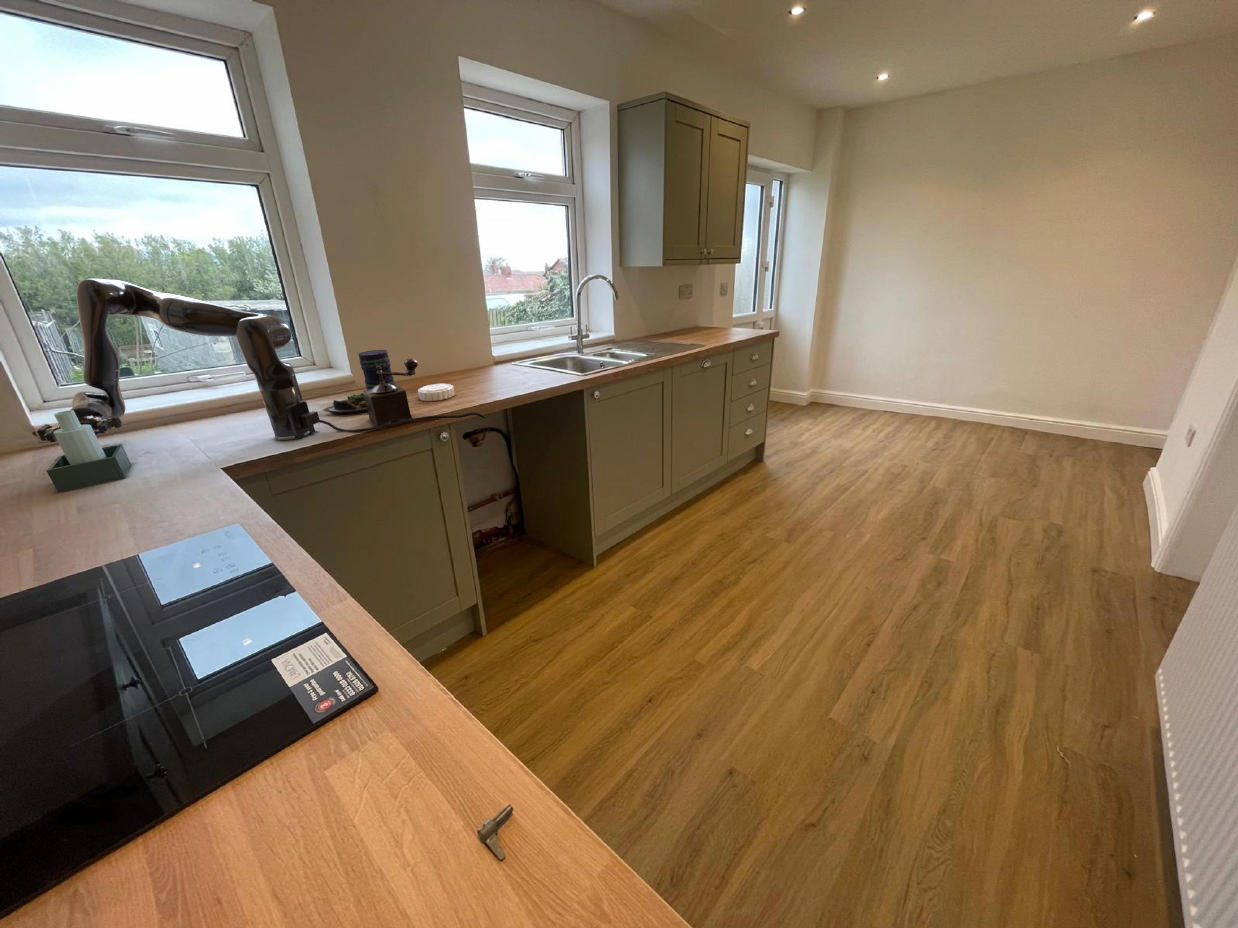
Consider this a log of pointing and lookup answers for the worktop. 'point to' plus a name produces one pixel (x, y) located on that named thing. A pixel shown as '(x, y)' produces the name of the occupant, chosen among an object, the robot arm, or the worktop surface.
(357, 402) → the salad plate
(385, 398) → the manual coffee grinder
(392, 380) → the storage jar
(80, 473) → the dark green open box
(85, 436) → the bottle
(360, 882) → the worktop surface
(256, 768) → the worktop surface
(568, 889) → the worktop surface
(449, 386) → the mooncake
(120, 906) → the worktop surface
